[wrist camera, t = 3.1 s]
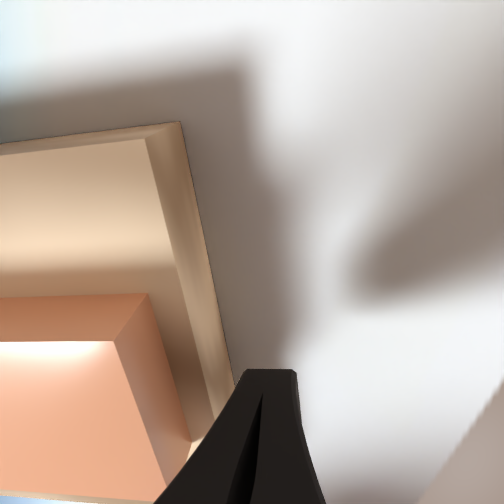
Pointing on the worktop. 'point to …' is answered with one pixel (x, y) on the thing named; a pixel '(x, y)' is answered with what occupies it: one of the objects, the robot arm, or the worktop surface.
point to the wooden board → (118, 249)
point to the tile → (87, 398)
